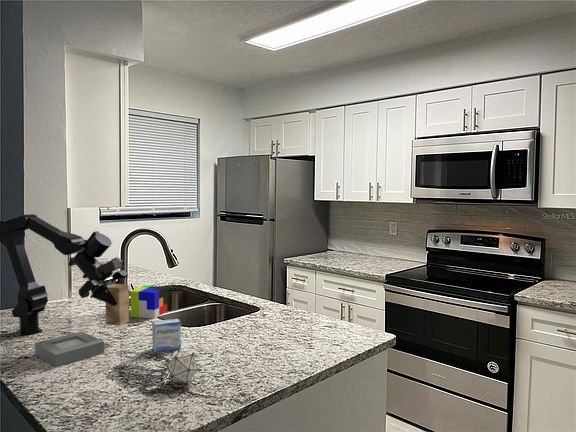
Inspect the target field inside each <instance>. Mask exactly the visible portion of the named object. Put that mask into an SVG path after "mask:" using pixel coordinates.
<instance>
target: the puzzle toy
mask: <svg viewBox="0 0 576 432" xmlns="http://www.w3.org/2000/svg"><path fill="white" fill-rule="evenodd" d="M167 312H168V286H158V285H157V286H156V285H142V286H140V287H137V288H135V289H133V290H130V317H132V318H140V319H141V318H144V319H153V320H154V319H156V318H158V317H160V316H162V315H164V314H165V313H167Z"/></svg>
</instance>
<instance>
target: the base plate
mask: <svg viewBox="0 0 576 432" xmlns="http://www.w3.org/2000/svg"><path fill="white" fill-rule="evenodd" d="M104 353H105V340H102V339H100V338H97V337H95V336H93V335H91V334H88V333H86V332H84V331H82V330H81V331H78V332H73V333H70V334H65V335H62V336H57V337H53V338H50V339H46V340H41V341H38V342H35V343H34V355H35V356H36V357H38V358H40V359H41V360H43V361H45V362H47V363H48V364H49V365H52V366H53V367H55V368H58V367H61V366H64V365H68V364H71V363H74V362H78V361H81V360H84V359H87V358H88V359H89V358H91V357H94V356H98V355H101V354H104Z"/></svg>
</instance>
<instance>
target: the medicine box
mask: <svg viewBox="0 0 576 432" xmlns="http://www.w3.org/2000/svg"><path fill="white" fill-rule="evenodd" d="M151 323H152V325H151V329H152V332H151V333H152V336H151V337H152V339H151V341H152V350H153V351H154V353H155V354H156V353H162V352H170V351H175V350H178V349H179V350H180V349H181V347H182V344H181V343H182V342H181V341H182V337H181V335H182V334H181V333H182V329H181V328H182V327H181V326H182V324H181V321H180V319H179V318H172V319H164V320H157V321H156V320H155V321H152V322H151Z"/></svg>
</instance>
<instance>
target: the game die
mask: <svg viewBox="0 0 576 432" xmlns="http://www.w3.org/2000/svg"><path fill="white" fill-rule="evenodd" d="M194 355H195V351H194V352H193V351H192V353H187V352H182V351H180V349H177V353H175V355H174V356H173V357H172V358H171V359H170V360H169V361H168V362H167V363H162V365H163V366H165V367H166V368H167V370H168V372H169V375H170V376H169V379H171V380H170V383H173V382H174V381H175V382H178V383H183V384H185V386H186V387H188V386H189V385H188V383H189V382H190V381H191V379H192V378H193V377H195V375H196V374H197V373H198V371H199V372H202V371H203V370H202V369H201V368H199V367H198V364H197V362H196V360H195V357H194Z"/></svg>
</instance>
